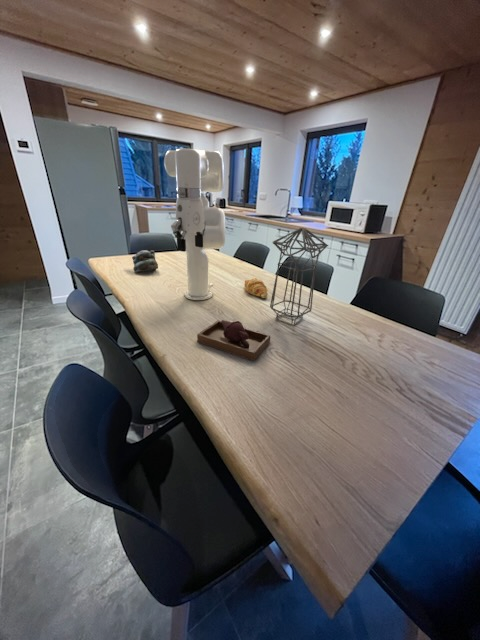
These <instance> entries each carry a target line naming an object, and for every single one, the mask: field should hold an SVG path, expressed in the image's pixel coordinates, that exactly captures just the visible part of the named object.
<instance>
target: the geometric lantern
mask: <svg viewBox="0 0 480 640" xmlns="http://www.w3.org/2000/svg"><path fill="white" fill-rule="evenodd" d="M300 234H302V235H301V236H302V240H300V239H298V238H299V237H300ZM312 237H313V238H314V239H316V240H317V241H318V242H320V243H316V242H315V241H314V240H313V238H312ZM285 238H286V239H285ZM281 240H283V241H281ZM292 241H293V242H292ZM291 243H292V244H291ZM296 243H297V244H298V245H299V246H300V247H294V244H296ZM301 243H302V244H303V245H302V244H301ZM272 245H274V246H275V247H276V248H277V250H278V251H280V254H279V259H278V263H277V268H276V274H275V280H274V285H273V289H272V294H271V300H270V304H269V308H270V309H271V310H272V311H273V312H274V313H275V314H276V317H275V319H276V320H277V321H279V322H282V323H285V324H288V325H290V326H295V325H297V324H298V323H300V322H301V321H302V320H303V318H304V315H307V314H308V313H311V312H312V309H313V308H312V307H313V297H314V287H315V277H316V269H317V266H318V261H319V257H320V254H321V253H322V252H324V250H326V248H327V247H329V244H327V243H326V242H324V241H323V240H322V239H320V237H318V236H316V235H315V234H313V232H311V231H310V230H309V229H307V228H306V227H299V228H298V229H295V230H294V231H291V232H289V233H288V234H285V235H284V236H281V237H279V238H277V239H275V240H273V241H272ZM288 249H289V252H288ZM292 250H298V251H295V252H292ZM316 251H318V252H317V253H316ZM301 252H302V253H301ZM306 252H307V253H309V254H310V257H309V258H308V259H307V261H306V262H301V261H299V260H301V258H302V257H303V256H304V254H305V253H306ZM299 253H301V254H300V256H299V257H298V258H297V260H295V258H294V256H295V255H297V254H299ZM284 256H286V257H288V258H289V260H288V261H284V262H281V261H282V259H283V257H284ZM313 259H316V260H315V264H314V260H313ZM310 260H311V262H312V264H311V263H308V262H309V261H310ZM288 263H290V264H289V266H285V265H284V264H288ZM297 263H298V264H302V265H303V266H302V267H301V269H300V268H299V267H298V264H297ZM293 264H294V268H293V267H292V265H293ZM306 265H307V266H310V267H311V268H307V269H304V268H305V266H306ZM280 267H282V268H285V269H289V270H288V275H287V279H286V285H285V289H284V295H283V300H281V301H278V302H276V303H275V298H276V297H275V296H276V291H277V290H276V289H277V284H278V279H279V278H278V277H279V271H280ZM303 269H304V270H303ZM291 270H293V275H292V283H291V289H290V295H289V300H286V295H287V290H288V285H289V281H290V275H291ZM311 270H312V276H311V283H310V290H309V297H308V302H307V305H304V304H301V300H302V290H303V289H302V288H303V280H304V272H307V271H311ZM299 272H301V277H300V286H299V298H298V302H295V296H296V290H297V283H298V276H299ZM286 302H287V303H288V304H287V307H286ZM282 303H283V306H284V308H283V309H282V310H278V309H276V308H274V306H277V305H279V304H282ZM290 304H291V308H290ZM294 304H295V305H297V306H298V307H297V311H296V310H294ZM301 307H304V308H306V309H305V310H303V311H302V312H300V309H301ZM288 311H290V312H288ZM293 312H294V313H297V315H296V314H293ZM279 317H282V318H285V319H288V320H290V321H291V323H289V322H286V321H284V320H282V319H279ZM293 318H294V319H293ZM299 318H300V319H299ZM298 319H299V320H298ZM296 320H298V321H296Z"/></svg>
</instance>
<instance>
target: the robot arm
mask: <svg viewBox="0 0 480 640" xmlns="http://www.w3.org/2000/svg"><path fill="white" fill-rule="evenodd" d="M163 165H164V170H165V171H166V174H167V175H168V176H169V177H171V178H175V180H176V181H175V182H176V203H175V221H174V222H173V223H172V224H171V225H170V228H171V231H172V234H173V235H174V238H175V239H176V246H177V247H176V249H177V251H178V252H184V253H185V254H186V273H187V275H186V276H187V291H185V292H184V297H185V298H186V299H188V300H192V301H204V300H208V299H211V298H212V296H213V293H212V291H210V289H212V288H214V284H213V283H209V278H210V277H209V274H210V273H209V267H210V266H209V264H210V263H209V260H210V259H209V257H208V255H207V253H206V252H205V250H207V249H208V250H221V249H223V248H224V246H225V244H226V213H225V211H224V210H223V209H222V208H220V207H216V206H215V207H213V206H210V201H209V200H208V198H207V196H205V195H204V194H203V192H205V193H220V192H222V191H223V189H224V187H225V186H224V185H225V164H224V159H223V155H222V154H221V152H219V151H218V150H207V149H206V150H203V149H194V148H188V147H187V148H186V147H185V148H184V147H183V148H182V147H181V148H177V149H176V150H171V149H169V150H167V151H166V153H165V155H164V159H163ZM204 249H205V250H204Z"/></svg>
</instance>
